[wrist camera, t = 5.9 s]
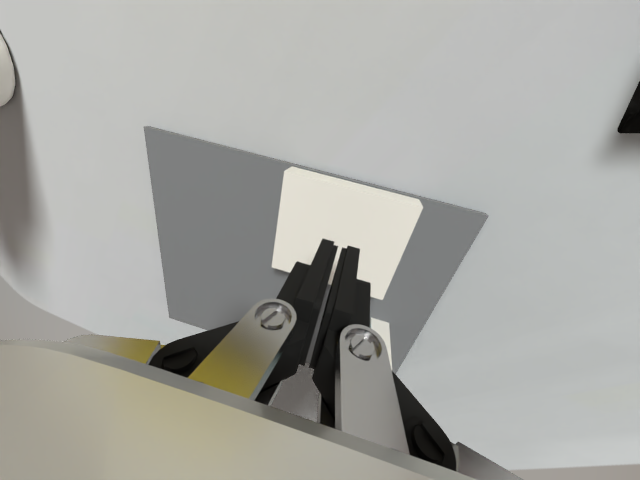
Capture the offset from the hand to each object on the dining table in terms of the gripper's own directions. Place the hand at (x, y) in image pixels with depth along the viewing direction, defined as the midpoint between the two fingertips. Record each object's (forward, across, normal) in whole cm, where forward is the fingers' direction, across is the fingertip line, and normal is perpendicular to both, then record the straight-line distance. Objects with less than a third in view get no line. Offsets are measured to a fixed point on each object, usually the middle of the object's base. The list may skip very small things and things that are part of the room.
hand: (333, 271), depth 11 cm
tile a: (+4, -3, 0) cm, 5 cm away
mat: (+5, +3, +5) cm, 8 cm away
